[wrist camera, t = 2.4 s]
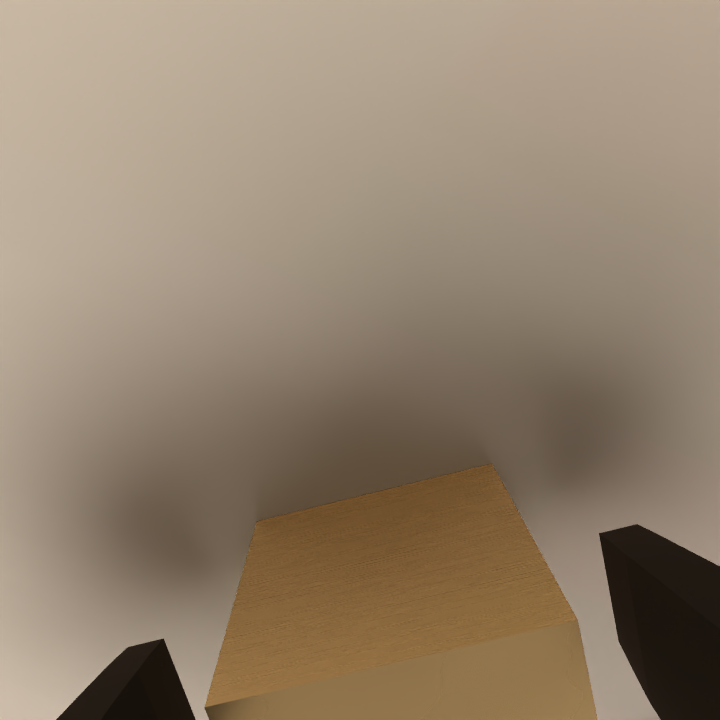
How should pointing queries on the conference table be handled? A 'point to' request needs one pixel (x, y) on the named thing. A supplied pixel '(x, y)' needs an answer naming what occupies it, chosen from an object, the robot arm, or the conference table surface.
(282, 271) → the conference table surface
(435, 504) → the wooden block
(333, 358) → the conference table surface
